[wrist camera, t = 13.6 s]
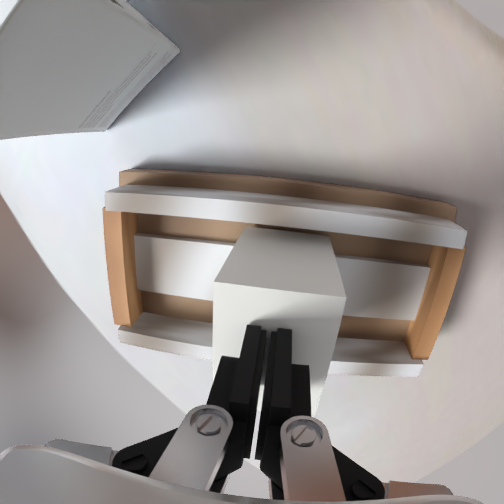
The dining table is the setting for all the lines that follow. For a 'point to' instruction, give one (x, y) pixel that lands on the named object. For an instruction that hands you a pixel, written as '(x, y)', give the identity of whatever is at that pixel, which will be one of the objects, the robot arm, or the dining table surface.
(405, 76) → the dining table surface
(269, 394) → the robot arm
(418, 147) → the dining table surface
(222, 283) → the block
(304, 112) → the dining table surface
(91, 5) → the supplement box
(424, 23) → the dining table surface
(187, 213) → the rail board
